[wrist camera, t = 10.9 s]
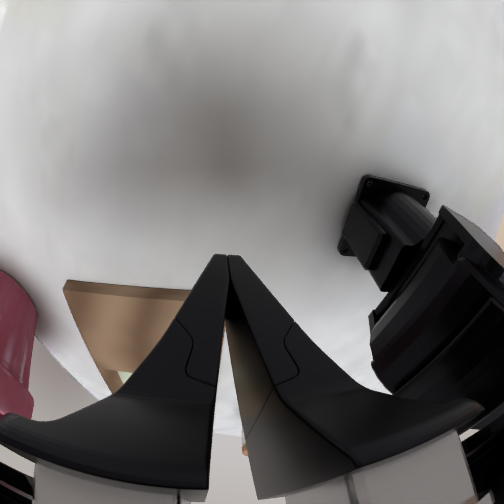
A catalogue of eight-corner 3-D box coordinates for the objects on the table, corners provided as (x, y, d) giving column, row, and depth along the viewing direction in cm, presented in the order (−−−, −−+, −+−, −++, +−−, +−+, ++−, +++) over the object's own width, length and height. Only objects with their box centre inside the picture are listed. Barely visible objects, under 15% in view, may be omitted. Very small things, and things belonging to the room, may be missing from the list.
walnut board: (227, 292, 22) (228, 303, 21) (213, 401, 35) (214, 408, 34) (67, 280, 20) (62, 289, 19) (117, 393, 32) (116, 400, 32)
